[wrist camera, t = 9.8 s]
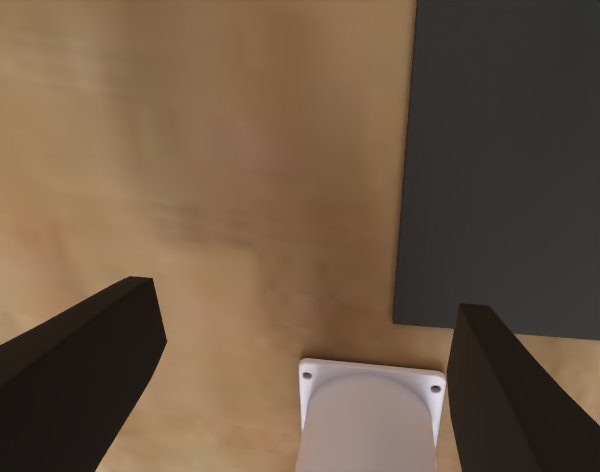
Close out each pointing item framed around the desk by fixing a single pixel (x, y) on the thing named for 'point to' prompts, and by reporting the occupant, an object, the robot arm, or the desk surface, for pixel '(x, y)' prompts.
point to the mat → (503, 166)
